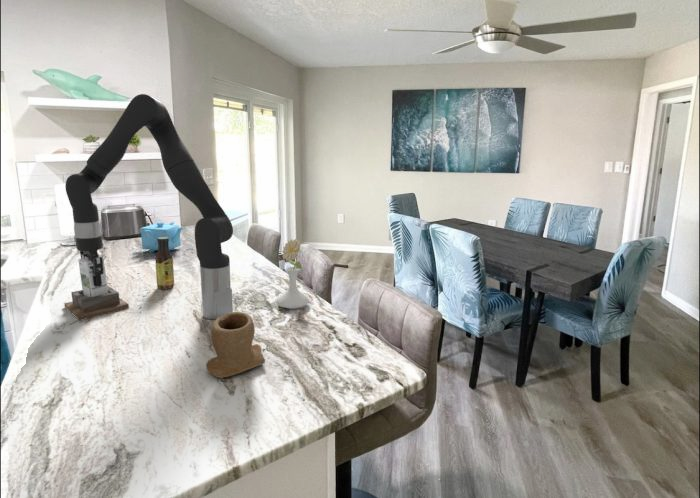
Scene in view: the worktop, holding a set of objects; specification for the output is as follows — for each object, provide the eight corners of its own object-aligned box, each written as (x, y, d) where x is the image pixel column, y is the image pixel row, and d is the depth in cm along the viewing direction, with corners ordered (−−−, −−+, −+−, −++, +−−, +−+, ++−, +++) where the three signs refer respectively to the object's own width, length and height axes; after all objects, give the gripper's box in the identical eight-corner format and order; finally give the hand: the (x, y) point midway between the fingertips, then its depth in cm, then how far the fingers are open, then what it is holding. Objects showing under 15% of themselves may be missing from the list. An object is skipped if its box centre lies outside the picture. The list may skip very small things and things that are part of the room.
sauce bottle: (168, 291, 165) (164, 240, 160) (153, 289, 166) (149, 239, 161) (178, 285, 171) (174, 236, 166) (164, 284, 172) (160, 235, 168)
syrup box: (109, 298, 148) (104, 257, 144) (91, 303, 143) (86, 261, 139) (100, 295, 151) (95, 254, 147) (82, 299, 146) (77, 258, 142)
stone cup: (219, 388, 102) (216, 330, 99) (201, 367, 111) (198, 313, 108) (276, 369, 111) (275, 315, 108) (255, 351, 120) (254, 301, 117)
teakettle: (139, 249, 224) (136, 221, 221) (176, 244, 235) (174, 218, 232) (147, 257, 210) (144, 227, 206) (187, 252, 220) (185, 224, 217)
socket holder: (128, 307, 148) (127, 292, 147) (79, 320, 137) (77, 304, 136) (112, 296, 158) (110, 282, 156) (64, 307, 147) (62, 292, 145)
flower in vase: (273, 301, 157) (272, 234, 151) (303, 298, 162) (303, 233, 156) (282, 315, 146) (281, 243, 140) (314, 311, 150) (315, 240, 144)
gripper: (109, 236, 139) (114, 286, 143) (93, 230, 149) (98, 276, 153) (82, 240, 134) (89, 291, 138) (68, 232, 143) (74, 281, 147)
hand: (94, 283), depth 145 cm, fingers closed on syrup box, 6 cm apart
